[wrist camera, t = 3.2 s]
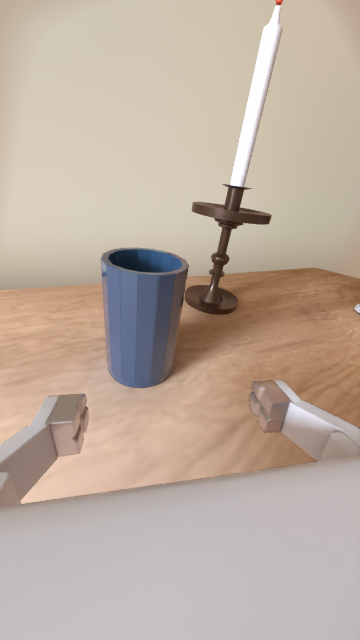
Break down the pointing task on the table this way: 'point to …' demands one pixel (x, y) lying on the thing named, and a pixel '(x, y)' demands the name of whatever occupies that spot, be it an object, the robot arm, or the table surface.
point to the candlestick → (238, 179)
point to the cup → (142, 313)
